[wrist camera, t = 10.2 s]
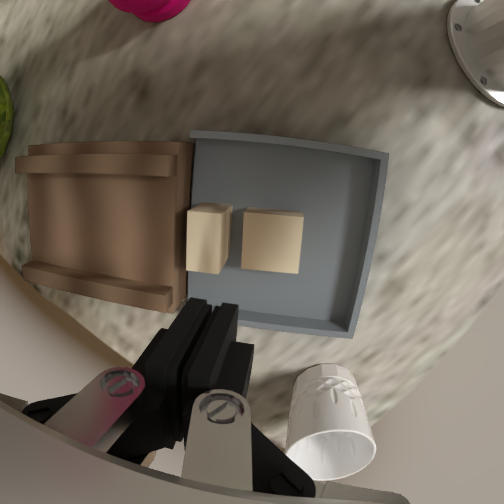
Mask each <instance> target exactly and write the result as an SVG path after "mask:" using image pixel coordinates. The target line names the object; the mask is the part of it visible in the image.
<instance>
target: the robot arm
mask: <svg viewBox="0 0 504 504" xmlns="http://www.w3.org/2000/svg"><path fill="white" fill-rule="evenodd" d="M447 31H448V36H449V41H450V44H451V47H452V50H453V53H454V55H455V57H456V59H457V61H458V63H459V65H460V67H461V68H462V70H463V71H464V73H465V75H466V76H467V77H468V78H469V80H470V81H471V82H472V84H473V85H474V86H475V87H476V88H477V89H478V90H479V91H480V92H481V93H482V94H483V95H484V96H486V97H487V98H488V99H489V100H491V101H492V102H494V103H496V104H498V105H500V106H502V107H504V0H457V1H456V2H455V3H454V4H453V5H452V6H451V8H450V10H449V13H448V18H447ZM238 312H239V305H237V304H231V303H224V302H222V304H221V306H217V305H216V306H215V308H214V310H213V312H212V305H211V304H207V300H205V299H199V298H193V297H190V298H189V300H188V301H187V303H186V304H185V306H184V307H183V308H182V310H181V311H180V313H179V314H178V316H177V317H176V318H175V320H174V321H173V323H172V324H171V326H170V327H169V329H164V328H162V329H160V330H159V331H158V333H157V334H156V335H155V337H154V338H153V339H152V341H151V342H150V344H149V345H148V346H147V348H146V349H145V350H144V352H143V353H142V355H141V356H140V357H139V359H138V360H137V362H136V363H135V364H134V366H133V367H132V369H131V368H128V367H113V368H109V369H107V370H104V371H103V372H101V373H100V374H99V375H97V376H96V377H95V378H94V379H93V380H92V381H91V382H90V383H89V384H88V385H86V386H85V387H84V388H83V389H82V390H81V391H80V392H79V393H76V394H71V395H67V396H63V397H57V398H52V399H47V400H42V401H37V402H34V403H31V404H28V401H25V400H21V399H18V398H14V397H11V396H8V395H4V394H1V393H0V504H410V503H409V501H408V500H407V499H406V498H405V497H404V496H402V495H401V494H397V493H394V492H388V491H380V490H373V489H367V488H360V487H355V486H350V485H345V484H340V483H335V482H330V481H327V482H326V484H323V483H319V482H315V481H313V480H312V478H311V477H310V476H309V475H308V474H307V473H306V472H305V471H304V470H302V469H301V468H300V467H299V466H298V465H297V464H295V463H294V462H293V461H292V460H291V459H290V458H289V457H288V456H286V455H285V454H284V453H283V452H282V451H281V450H280V449H278V447H276V446H275V445H274V444H273V443H272V442H271V441H270V440H269V439H268V438H267V437H266V436H265V435H264V434H262V433H261V432H260V431H259V430H258V429H257V428H256V427H255V426H254V425H253V424H252V423H251V410H250V406H249V403H248V402H247V400H246V395H247V391H248V386H249V381H250V375H251V369H252V362H253V354H254V344H248V343H241V342H236V335H237V323H238ZM183 437H184V447H185V455H184V462H183V468H182V474H181V477H178V476H175V475H171V474H167V473H164V472H160V471H157V470H154V469H150V468H148V467H149V466H150V464H151V463H152V461H153V460H154V458H155V456H156V450H158V449H162V448H164V447H166V448H169V449H173V447H174V445H175V442H176V441H179V442H181V441H182V439H183Z"/></svg>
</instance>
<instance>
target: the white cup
mask: <svg viewBox="0 0 504 504" xmlns="http://www.w3.org/2000/svg"><path fill="white" fill-rule="evenodd" d="M375 453H376V445H375V441H374V438H373V434H372V431H371V427H370V424H369V420H368V416H367V413H366V410H365V407H364V404H363V401H362V398H361V395H360V393H359V391H358V388H357V385H356V381H355V378H354V377H353V375H352V374H351V373H350V372H349V370H348V369H346V368H344V367H341V366H339V365H336V364H320V365H317V366H314V367H311V368H308V369H306V370H305V371H304V372H303V373H302V374H300V375H299V376H298V377H297V379H296V382H295V384H294V386H293V393H292V401H291V406H290V414H289V420H288V430H287V439H286V447H285V455H286V456H288V457H289V458H290V459H291V460H292V461H293V462H294V463H295V464H297V465H298V466H299V467H300V468H301V469H302V470H304V471H305V472H306V473H307V474H308V475H309V476H310V477H311V478H312V480H320V481H326V480H335V479H340V478H344V477H347V476H350V475H352V474H354V473H357V472H358V471H360V470H361V469H363V468H365V467H366V466H367V465H368V464H369V463H370V462H371V461H372V459H373V458H374V456H375Z"/></svg>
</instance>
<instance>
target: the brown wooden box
mask: <svg viewBox="0 0 504 504" xmlns="http://www.w3.org/2000/svg"><path fill="white" fill-rule="evenodd" d="M193 155H194V143H186V142H170V141H95V142H71V143H54V144H41V145H29V146H28V156H21V157H15V173H28V211H29V227H30V239H31V250H32V258H33V260H32V261H30V262H28V263H26V264H24V265H22V272H23V279H24V280H25V281H29V282H33V283H36V284H40V285H44V286H48V287H51V288H55V289H59V290H63V291H67V292H71V293H75V294H79V295H84V296H88V297H92V298H97V299H101V300H105V301H110V302H114V303H119V304H124V305H129V306H133V307H138V308H143V309H148V310H153V311H158V312H164V313H166V312H167V313H174V311H175V310H176V309H177V307H178V306H179V304H180V303H181V302H182V300H183V299H184V298H185V296H186V295H187V270H186V248H187V211H189V210H190V197H191V182H192V168H193Z"/></svg>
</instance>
